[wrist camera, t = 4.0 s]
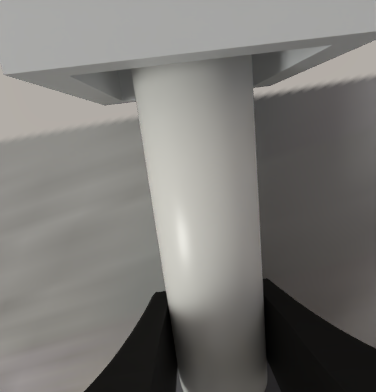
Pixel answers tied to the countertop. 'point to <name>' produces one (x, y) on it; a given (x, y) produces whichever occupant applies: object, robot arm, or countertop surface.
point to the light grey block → (171, 39)
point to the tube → (207, 218)
